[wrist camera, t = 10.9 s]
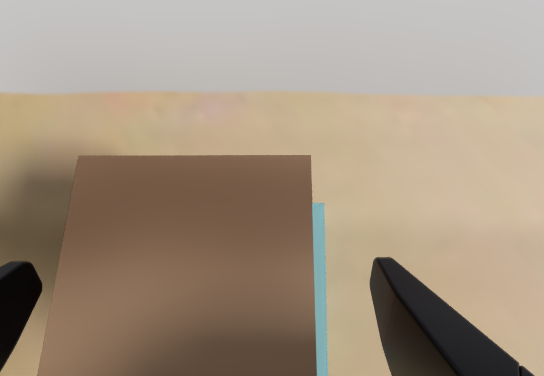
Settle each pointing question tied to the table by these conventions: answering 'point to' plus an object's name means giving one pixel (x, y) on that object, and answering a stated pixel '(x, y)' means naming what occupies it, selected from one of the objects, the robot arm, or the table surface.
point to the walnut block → (185, 269)
